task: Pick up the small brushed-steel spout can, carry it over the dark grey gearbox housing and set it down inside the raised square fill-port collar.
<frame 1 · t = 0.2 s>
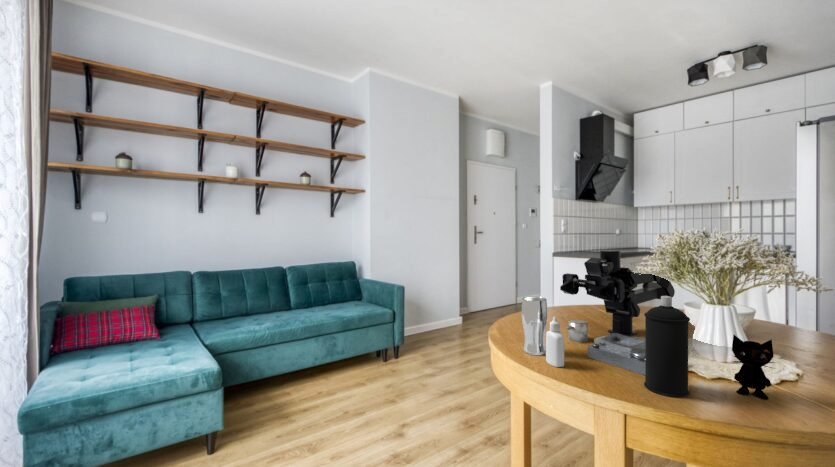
hand: (574, 290, 109), 16 cm above the table, tool horizontal, fingers open, 9 cm apart
gearbox: (631, 360, 98), on the table
aerosol can: (666, 389, 81), on the table
beer glass: (534, 352, 106), on the table
eye dropper bottle: (554, 364, 97), on the table
cat figurine: (751, 394, 79), on the table
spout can: (577, 339, 117), on the table
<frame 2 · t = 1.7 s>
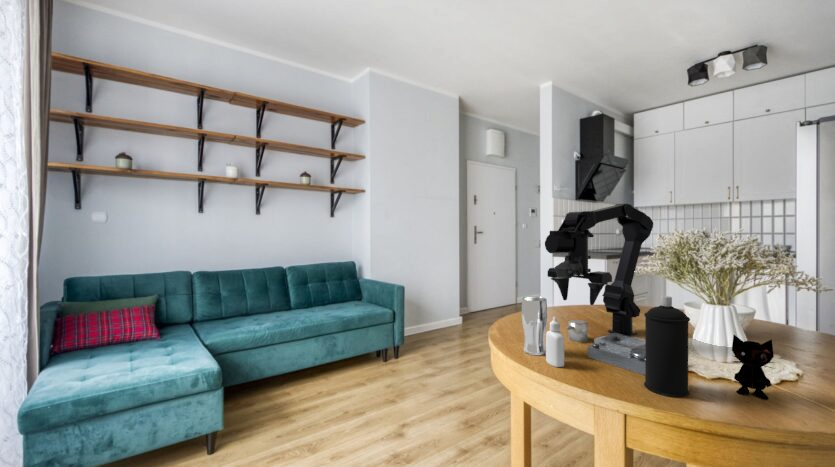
hand: (578, 302, 117), 11 cm above the table, tool pointing down, fingers open, 9 cm apart
nothing on the table moved.
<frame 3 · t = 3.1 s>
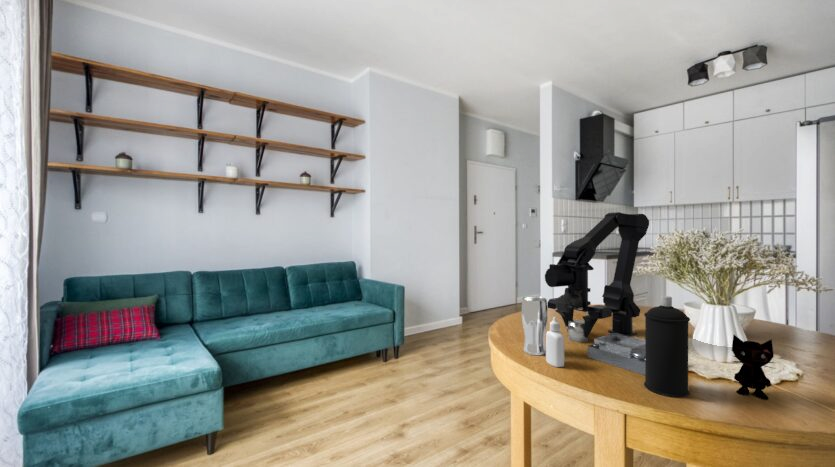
hand: (577, 335, 117), 1 cm above the table, tool pointing down, fingers closed on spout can, 5 cm apart
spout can: (577, 339, 117), on the table, touching gripper
everything else where it was.
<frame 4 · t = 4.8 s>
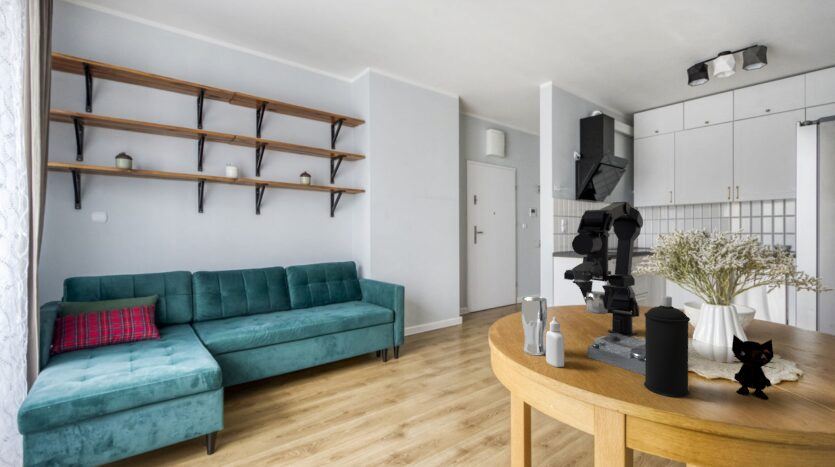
hand: (597, 307, 109), 12 cm above the table, tool pointing down, fingers closed on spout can, 5 cm apart
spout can: (596, 311, 109), point 10 cm above the table, touching gripper
everything else where it was.
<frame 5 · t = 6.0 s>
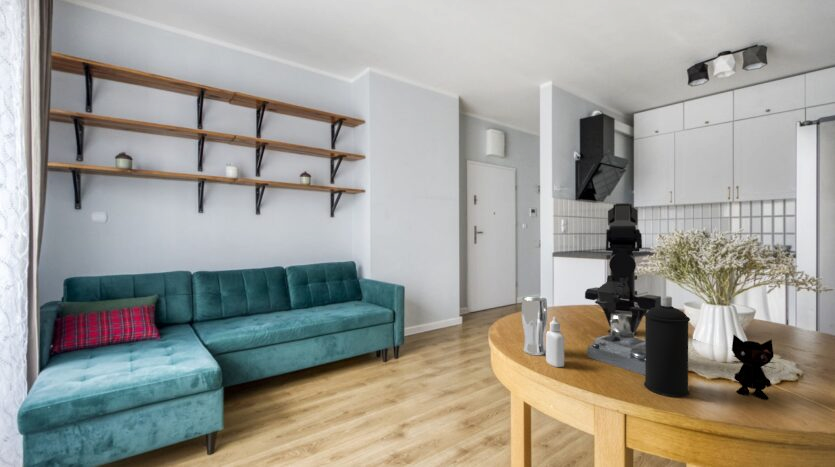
hand: (622, 329, 101), 7 cm above the table, tool pointing down, fingers closed on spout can, 5 cm apart
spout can: (622, 334, 101), point 6 cm above the table, touching gripper
everything else where it was.
when the fingers open (6 cm above the table, at t = 6.7 s): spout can drops 2 cm, resting on gearbox.
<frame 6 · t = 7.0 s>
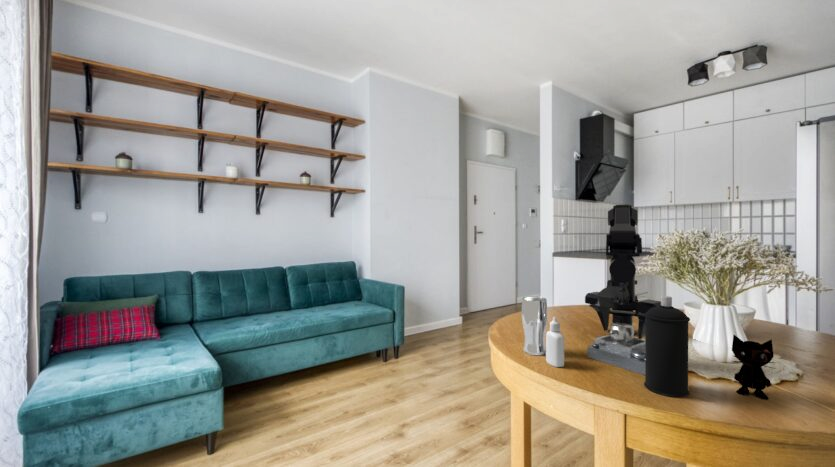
hand: (622, 334, 101), 6 cm above the table, tool pointing down, fingers open, 9 cm apart
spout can: (622, 345, 101), point 3 cm above the table, touching gearbox
everything else where it was.
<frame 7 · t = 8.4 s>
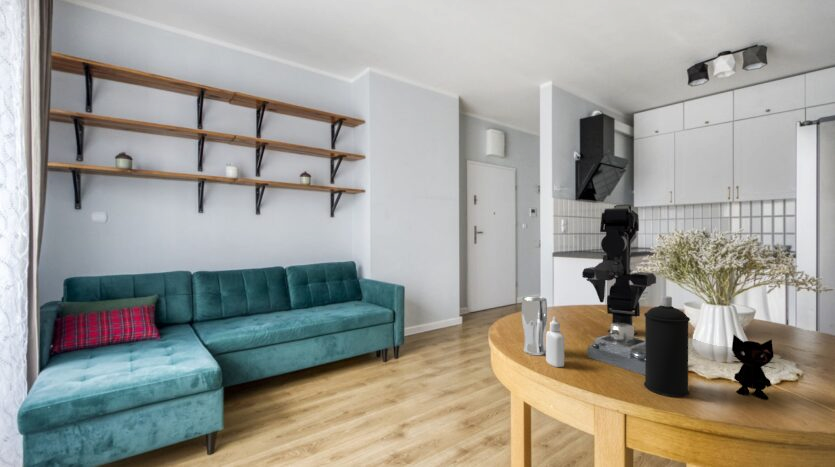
hand: (617, 305, 110), 12 cm above the table, tool pointing down, fingers open, 9 cm apart
nothing on the table moved.
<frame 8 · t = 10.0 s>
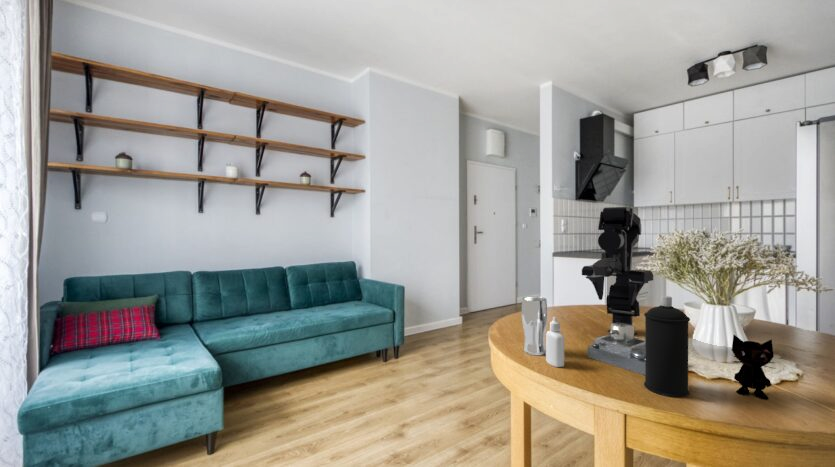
hand: (615, 302, 112), 13 cm above the table, tool pointing down, fingers open, 9 cm apart
nothing on the table moved.
at the end: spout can 0.1 cm from the target spot on the gearbox, point 3.0 cm above the gearbox's base; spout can tilted 0°; the gripper is holding nothing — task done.
